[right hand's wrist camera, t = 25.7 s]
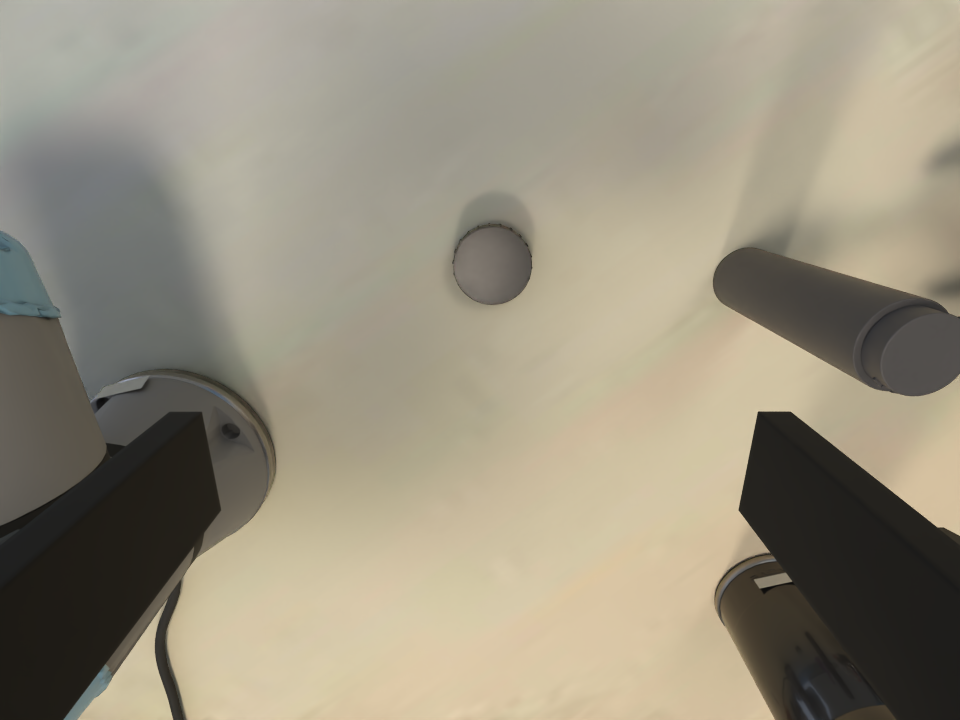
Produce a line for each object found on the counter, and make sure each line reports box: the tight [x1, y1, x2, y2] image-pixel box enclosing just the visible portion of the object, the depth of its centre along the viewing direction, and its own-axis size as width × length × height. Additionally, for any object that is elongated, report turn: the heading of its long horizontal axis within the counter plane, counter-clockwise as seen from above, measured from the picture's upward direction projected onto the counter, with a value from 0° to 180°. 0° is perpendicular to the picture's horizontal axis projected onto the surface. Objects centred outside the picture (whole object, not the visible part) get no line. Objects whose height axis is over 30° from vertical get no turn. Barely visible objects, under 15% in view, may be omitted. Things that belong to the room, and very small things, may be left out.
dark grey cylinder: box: [713, 248, 960, 396], centre depth 31 cm, size 5×5×17 cm
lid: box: [453, 223, 532, 305], centre depth 38 cm, size 6×6×2 cm
